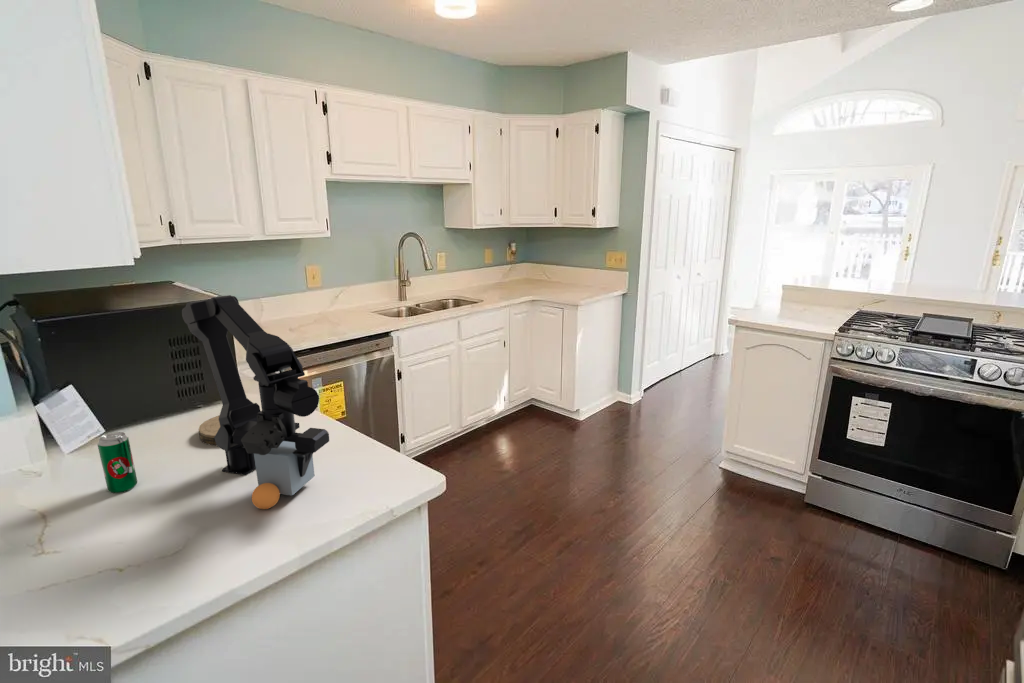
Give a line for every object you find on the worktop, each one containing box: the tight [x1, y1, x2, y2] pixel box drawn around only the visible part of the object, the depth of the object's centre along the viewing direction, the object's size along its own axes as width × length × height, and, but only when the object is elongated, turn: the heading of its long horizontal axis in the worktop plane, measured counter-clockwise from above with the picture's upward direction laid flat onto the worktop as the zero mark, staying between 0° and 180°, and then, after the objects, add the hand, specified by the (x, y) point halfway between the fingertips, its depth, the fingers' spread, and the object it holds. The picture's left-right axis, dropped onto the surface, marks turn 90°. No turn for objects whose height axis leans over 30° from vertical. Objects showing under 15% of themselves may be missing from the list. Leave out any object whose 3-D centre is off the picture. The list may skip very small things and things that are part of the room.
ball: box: [251, 483, 281, 510], centre depth 99 cm, size 5×5×5 cm
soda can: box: [97, 431, 138, 494], centre depth 104 cm, size 5×5×12 cm
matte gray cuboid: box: [254, 441, 315, 496], centre depth 104 cm, size 8×8×9 cm
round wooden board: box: [198, 414, 220, 446], centre depth 132 cm, size 16×16×3 cm
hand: (285, 473), depth 104 cm, fingers closed on matte gray cuboid, 8 cm apart
